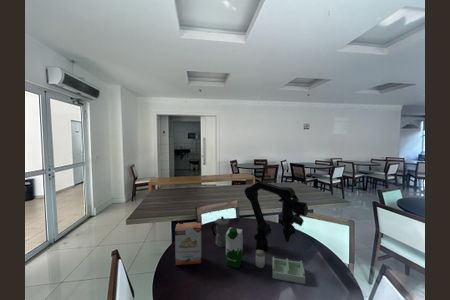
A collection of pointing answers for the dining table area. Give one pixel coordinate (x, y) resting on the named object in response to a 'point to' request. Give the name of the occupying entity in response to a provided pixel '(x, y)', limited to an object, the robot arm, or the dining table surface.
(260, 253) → the jar
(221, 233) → the coffeepot
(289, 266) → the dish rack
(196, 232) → the cracker box
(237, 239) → the milk carton
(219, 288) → the dining table surface
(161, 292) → the dining table surface
